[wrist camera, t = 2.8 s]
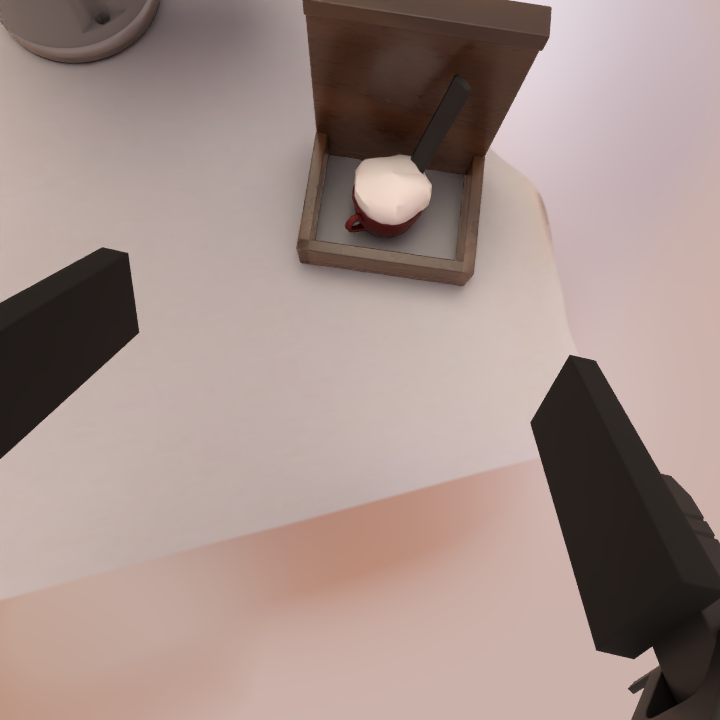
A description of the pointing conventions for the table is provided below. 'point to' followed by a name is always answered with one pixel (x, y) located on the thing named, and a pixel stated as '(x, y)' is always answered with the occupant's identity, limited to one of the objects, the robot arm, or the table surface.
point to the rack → (412, 103)
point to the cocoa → (403, 175)
